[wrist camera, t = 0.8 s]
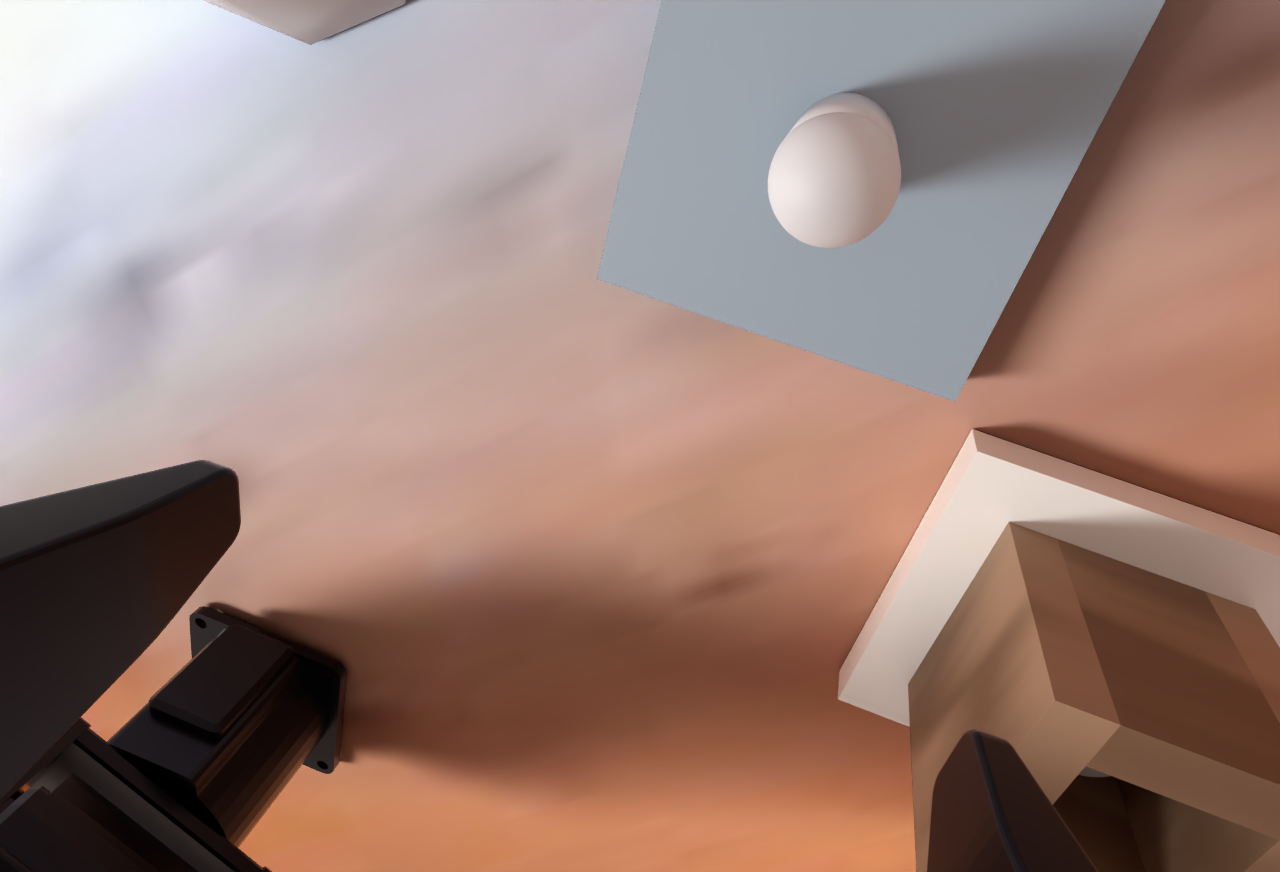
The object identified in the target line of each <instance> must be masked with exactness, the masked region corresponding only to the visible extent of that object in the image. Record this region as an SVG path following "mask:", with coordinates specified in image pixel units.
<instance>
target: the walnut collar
mask: <svg viewBox="0 0 1280 872" xmlns="http://www.w3.org/2000/svg"><path fill="white" fill-rule="evenodd" d="M908 698H909V720H910V742H911V764H912V786H913V808H914V830H915V852H916V872H927V860H928V847H929V833H930V820H931V806H932V794H933V788H934V784H935V781H936V778H937V775H938V773H939V772H940V770H941V768H942V767H943V765H944V764H945V762H946V760H947V759H948V757H949V756H950V754H951V752H952V751H953V749H954V748H955V746H956V744H957V743H958V741H959V740H960V738H961V737H962V735H963V734H964V733H965V732H966V731H967V730H970V729H977V730H980V731H983V732H986V733H989V734H992V735H994V736H997V737H1000V738H1003V739H1005V740H1006V741H1008V742H1009V743H1010V744H1011V745H1012V746H1013V748H1014V749H1015V751H1016V752H1017V753H1018V755H1019V756H1020V758H1021V759H1022V761H1023V762H1024V764H1025V765H1026V767H1027V768H1028V770H1029V771H1030V772H1031V774H1032V775H1033V777H1034V778H1035V780H1036V781H1037V783H1038V784H1039V786H1040V787H1041V789H1042V790H1043V791H1044V793H1045V794H1046V796H1047V797H1048V799H1049V800H1050V802H1051V803H1052V805H1053V806H1054V807H1055V809H1056V810H1057V812H1058V813H1059V815H1060V816H1061V818H1062V819H1063V821H1064V822H1065V824H1066V825H1067V826H1068V828H1069V829H1070V831H1071V832H1072V834H1073V835H1074V837H1075V838H1076V840H1077V841H1078V843H1079V844H1080V845H1081V847H1082V848H1083V850H1084V851H1085V853H1086V854H1087V856H1088V857H1089V859H1090V860H1091V861H1092V863H1093V864H1094V866H1095V867H1096V869H1097V870H1098V872H1280V647H1279V646H1278V644H1277V642H1276V641H1275V639H1274V638H1273V636H1272V635H1271V633H1270V631H1269V630H1268V628H1267V627H1266V625H1265V624H1264V622H1263V620H1262V619H1261V617H1260V616H1259V614H1258V613H1257V611H1256V609H1253V608H1251V607H1248V606H1245V605H1242V604H1239V603H1236V602H1234V601H1231V600H1228V599H1225V598H1222V597H1220V596H1217V595H1214V594H1211V593H1208V592H1206V591H1203V590H1200V589H1197V588H1194V587H1191V586H1189V585H1186V584H1183V583H1180V582H1177V581H1175V580H1172V579H1169V578H1166V577H1163V576H1160V575H1158V574H1155V573H1152V572H1149V571H1146V570H1144V569H1141V568H1138V567H1135V566H1132V565H1130V564H1127V563H1124V562H1121V561H1118V560H1115V559H1113V558H1110V557H1107V556H1104V555H1101V554H1099V553H1096V552H1093V551H1090V550H1087V549H1084V548H1082V547H1079V546H1076V545H1073V544H1070V543H1068V542H1065V541H1062V540H1059V539H1056V538H1053V537H1051V536H1048V535H1045V534H1042V533H1039V532H1037V531H1034V530H1031V529H1028V528H1025V527H1023V526H1020V525H1017V524H1014V523H1011V522H1008V524H1007V525H1006V527H1005V529H1004V530H1003V532H1002V533H1001V535H1000V537H999V538H998V540H997V541H996V543H995V545H994V546H993V548H992V550H991V551H990V553H989V554H988V556H987V558H986V559H985V561H984V562H983V564H982V566H981V567H980V569H979V570H978V572H977V574H976V575H975V577H974V579H973V580H972V582H971V583H970V585H969V587H968V588H967V590H966V591H965V593H964V595H963V596H962V598H961V599H960V601H959V603H958V604H957V606H956V608H955V609H954V611H953V612H952V614H951V616H950V617H949V619H948V620H947V622H946V624H945V625H944V627H943V628H942V630H941V632H940V633H939V635H938V636H937V638H936V640H935V641H934V643H933V645H932V646H931V648H930V649H929V651H928V653H927V654H926V656H925V657H924V659H923V661H922V662H921V664H920V665H919V667H918V669H917V670H916V672H915V674H914V675H913V677H912V678H911V680H910V682H909V683H908ZM1085 766H1087V767H1090V768H1092V769H1095V770H1097V771H1100V772H1103V773H1105V774H1108V775H1110V776H1109V777H1088V776H1082V775H1079V773H1080V772H1081V771H1082V770H1083V769H1084V768H1085Z"/></svg>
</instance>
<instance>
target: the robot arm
mask: <svg viewBox="0 0 1280 872" xmlns="http://www.w3.org/2000/svg"><path fill="white" fill-rule="evenodd" d="M240 524H241V515H240V498H239V481H238V477H237V475H236V473H235V471H233V470H232V469H230V468H227V467H225V466H222V465H219V464H216V463H213V462H210V461H206V460H199V461H194V462H190V463H185V464H181V465H177V466H172V467H168V468H164V469H159V470H155V471H151V472H146V473H142V474H138V475H134V476H129V477H125V478H121V479H116V480H112V481H108V482H103V483H99V484H95V485H90V486H86V487H82V488H78V489H73V490H69V491H65V492H60V493H56V494H52V495H47V496H43V497H39V498H34V499H30V500H26V501H22V502H17V503H13V504H9V505H4V506H0V872H272V871H271V870H269V869H268V868H267V867H266V866H265V867H263V868H262V867H261V866H259V865H258V864H257V863H256V862H255V861H253V860H252V859H251V858H250V857H248V856H247V855H246V854H245V853H243V852H242V851H241V850H240V849H238V847H239V846H240V845H241V843H242V842H243V841H244V839H245V838H246V837H247V836H248V834H249V833H250V832H251V830H252V829H253V828H254V826H255V825H256V824H257V822H258V821H259V820H260V819H261V817H262V816H263V815H264V813H265V812H266V811H267V809H268V808H269V807H270V806H271V804H272V803H273V802H274V800H275V799H276V798H277V796H278V795H279V794H280V793H281V791H282V790H283V789H284V787H285V786H286V785H287V783H288V782H289V781H290V779H291V778H292V777H293V776H294V774H295V773H296V772H297V770H298V769H299V768H300V766H301V765H302V764H303V765H306V766H308V767H310V768H313V769H315V770H317V771H320V772H322V773H326V774H330V773H332V772H333V771H334V769H335V768H336V766H337V765H338V763H339V756H340V745H341V733H342V721H343V709H344V697H345V686H346V674H347V673H346V669H345V667H344V665H343V664H342V663H341V662H339V661H337V660H336V659H333V658H331V657H328V656H326V655H323V654H321V653H319V652H316V651H314V650H311V649H309V648H306V647H304V646H301V645H299V644H296V643H294V642H292V641H289V640H287V639H284V638H282V637H279V636H277V635H274V634H272V633H269V632H267V631H265V630H262V629H260V628H257V627H255V626H252V625H250V624H247V623H245V622H242V621H240V620H238V619H235V618H233V617H230V616H228V615H225V614H223V613H220V612H218V611H215V610H213V609H211V608H208V607H204V606H203V607H199V608H198V609H197V610H196V611H195V612H194V613H192V614H191V615H190V635H191V651H192V659H191V660H190V661H189V662H188V663H187V664H186V665H185V666H184V667H183V668H182V669H181V670H180V671H179V672H178V673H177V674H175V675H174V676H173V677H172V678H171V679H170V680H169V681H168V682H167V683H166V684H165V685H164V686H163V687H162V688H161V689H160V690H158V691H157V692H156V693H155V694H154V695H153V696H152V697H151V698H150V700H149V702H148V703H147V704H146V705H145V706H144V707H143V708H142V709H141V710H140V711H139V712H138V713H137V714H136V715H135V716H134V717H132V718H131V719H130V720H129V721H128V722H127V723H126V724H125V725H124V726H123V727H122V728H121V729H120V730H119V731H118V732H117V733H116V734H114V735H113V736H112V737H111V738H110V739H109V740H108V741H107V742H106V741H105V740H103V739H102V738H101V737H100V736H98V735H97V734H96V733H95V732H94V731H92V730H91V729H90V727H91V725H90V724H89V723H88V722H86V721H85V720H84V719H83V718H81V716H82V715H83V714H84V713H85V712H86V711H87V710H88V709H89V708H90V707H91V706H92V705H93V704H94V703H95V702H96V701H97V700H98V699H99V697H100V696H101V695H102V694H103V693H104V692H105V691H106V690H107V689H108V688H109V687H110V686H111V685H112V684H113V683H114V682H115V681H116V680H117V679H118V678H119V677H120V676H121V675H122V674H123V673H124V672H125V671H126V670H127V669H128V668H129V667H130V666H131V665H132V664H133V662H134V661H135V660H136V659H137V658H138V657H139V656H140V655H141V654H142V653H143V652H144V651H145V650H146V649H147V648H148V647H149V646H150V644H151V643H152V642H153V641H154V640H155V639H156V638H157V637H158V636H159V634H160V633H161V632H162V631H163V630H164V629H165V627H166V626H167V625H168V624H169V623H170V621H171V620H172V619H173V618H174V616H175V615H176V614H177V613H178V611H179V610H180V609H181V608H182V606H183V605H184V604H185V603H186V601H187V600H188V599H189V598H190V596H191V595H192V594H193V592H194V591H195V590H196V589H197V587H198V586H199V585H200V584H201V582H202V581H203V580H204V579H205V577H206V576H207V575H208V574H209V572H210V571H211V570H212V569H213V567H214V566H215V565H216V564H217V562H218V561H219V560H220V558H221V557H222V556H223V555H224V553H225V552H226V551H227V550H228V548H229V547H230V546H231V545H232V543H233V542H234V540H235V539H236V537H237V535H238V532H239V529H240ZM927 872H1098V870H1097V869H1096V867H1095V866H1094V864H1093V863H1092V861H1091V860H1090V859H1089V857H1088V856H1087V854H1086V853H1085V851H1084V850H1083V848H1082V847H1081V845H1080V844H1079V843H1078V841H1077V840H1076V838H1075V837H1074V835H1073V834H1072V832H1071V831H1070V829H1069V828H1068V826H1067V825H1066V824H1065V822H1064V821H1063V819H1062V818H1061V816H1060V815H1059V813H1058V812H1057V810H1056V809H1055V807H1054V806H1053V805H1052V803H1051V802H1050V800H1049V799H1048V797H1047V796H1046V794H1045V793H1044V791H1043V790H1042V789H1041V787H1040V786H1039V784H1038V783H1037V781H1036V780H1035V778H1034V777H1033V775H1032V774H1031V772H1030V771H1029V770H1028V768H1027V767H1026V765H1025V764H1024V762H1023V761H1022V759H1021V758H1020V756H1019V755H1018V753H1017V752H1016V751H1015V749H1014V748H1013V746H1012V745H1011V744H1010V743H1009V742H1008V741H1006V740H1005V739H1003V738H1000V737H997V736H994V735H992V734H989V733H986V732H983V731H980V730H977V729H970V730H967V731H966V732H965V733H964V734H963V735H962V737H961V738H960V740H959V741H958V743H957V744H956V746H955V748H954V749H953V751H952V752H951V754H950V756H949V757H948V759H947V760H946V762H945V764H944V765H943V767H942V768H941V770H940V772H939V773H938V775H937V778H936V781H935V784H934V788H933V794H932V806H931V820H930V833H929V847H928V860H927Z"/></svg>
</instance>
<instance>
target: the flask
mask: <svg viewBox="0 0 1280 872" xmlns="http://www.w3.org/2000/svg"><path fill="white" fill-rule="evenodd" d="M205 1H207V2H209V3H211V4H213V5H216V6H218V7H221V8H223V9H226V10H228V11H230V12H233V13H235V14H238V15H240V16H242V17H245V18H247V19H250V20H252V21H254V22H257V23H259V24H262V25H264V26H266V27H269V28H271V29H274V30H276V31H278V32H281V33H283V34H286V35H288V36H291V37H293V38H295V39H298V40H300V41H303V42H305V43H307V44H310V45H311V44H314V43H316V42H318V41H321V40H323V39H325V38H328V37H330V36H332V35H335V34H337V33H339V32H341V31H344V30H346V29H348V28H351V27H353V26H355V25H358V24H360V23H362V22H365V21H367V20H369V19H372V18H374V17H376V16H378V15H381V14H383V13H385V12H388V11H390V10H392V9H395V8H397V7H399V6H402V5H404V4H405V0H205Z"/></svg>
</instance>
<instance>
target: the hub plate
mask: <svg viewBox="0 0 1280 872" xmlns="http://www.w3.org/2000/svg"><path fill="white" fill-rule="evenodd" d="M1165 1H1166V0H662V2H661V6H660V10H659V15H658V19H657V23H656V27H655V32H654V36H653V40H652V45H651V49H650V53H649V57H648V62H647V66H646V70H645V74H644V79H643V83H642V87H641V92H640V96H639V100H638V104H637V109H636V113H635V117H634V122H633V126H632V130H631V134H630V139H629V143H628V147H627V151H626V156H625V160H624V164H623V169H622V173H621V177H620V181H619V186H618V190H617V194H616V198H615V203H614V207H613V211H612V216H611V220H610V224H609V228H608V233H607V237H606V241H605V246H604V250H603V254H602V258H601V263H600V267H599V271H598V275H597V279H598V280H601V281H604V282H606V283H609V284H612V285H615V286H618V287H621V288H624V289H627V290H630V291H633V292H636V293H639V294H642V295H644V296H647V297H650V298H653V299H656V300H659V301H662V302H665V303H668V304H671V305H674V306H677V307H680V308H682V309H685V310H688V311H691V312H694V313H697V314H700V315H703V316H706V317H709V318H712V319H715V320H717V321H720V322H723V323H726V324H729V325H732V326H735V327H738V328H741V329H744V330H747V331H750V332H753V333H755V334H758V335H761V336H764V337H767V338H770V339H773V340H776V341H779V342H782V343H785V344H788V345H791V346H793V347H796V348H799V349H802V350H805V351H808V352H811V353H814V354H817V355H820V356H823V357H826V358H829V359H831V360H834V361H837V362H840V363H843V364H846V365H849V366H852V367H855V368H858V369H861V370H864V371H866V372H869V373H872V374H875V375H878V376H881V377H884V378H887V379H890V380H893V381H896V382H899V383H902V384H904V385H907V386H910V387H913V388H916V389H919V390H922V391H925V392H928V393H931V394H934V395H937V396H940V397H942V398H945V399H948V400H951V401H954V402H955V401H956V399H957V397H958V395H959V393H960V391H961V389H962V388H963V386H964V384H965V382H966V380H967V378H968V376H969V374H970V372H971V370H972V368H973V367H974V365H975V363H976V361H977V359H978V357H979V355H980V353H981V351H982V349H983V348H984V346H985V344H986V342H987V340H988V338H989V336H990V334H991V332H992V330H993V328H994V327H995V325H996V323H997V321H998V319H999V317H1000V315H1001V313H1002V311H1003V309H1004V307H1005V306H1006V304H1007V302H1008V300H1009V298H1010V296H1011V294H1012V292H1013V290H1014V288H1015V287H1016V285H1017V283H1018V281H1019V279H1020V277H1021V275H1022V273H1023V271H1024V269H1025V267H1026V266H1027V264H1028V262H1029V260H1030V258H1031V256H1032V254H1033V252H1034V250H1035V248H1036V246H1037V245H1038V243H1039V241H1040V239H1041V237H1042V235H1043V233H1044V231H1045V229H1046V227H1047V226H1048V224H1049V222H1050V220H1051V218H1052V216H1053V214H1054V212H1055V210H1056V208H1057V206H1058V205H1059V203H1060V201H1061V199H1062V197H1063V195H1064V193H1065V191H1066V189H1067V187H1068V185H1069V184H1070V182H1071V180H1072V178H1073V176H1074V174H1075V172H1076V170H1077V168H1078V166H1079V165H1080V163H1081V161H1082V159H1083V157H1084V155H1085V153H1086V151H1087V149H1088V147H1089V145H1090V144H1091V142H1092V140H1093V138H1094V136H1095V134H1096V132H1097V130H1098V128H1099V126H1100V124H1101V123H1102V121H1103V119H1104V117H1105V115H1106V113H1107V111H1108V109H1109V107H1110V105H1111V104H1112V102H1113V100H1114V98H1115V96H1116V94H1117V92H1118V90H1119V88H1120V86H1121V84H1122V83H1123V81H1124V79H1125V77H1126V75H1127V73H1128V71H1129V69H1130V67H1131V65H1132V64H1133V62H1134V60H1135V58H1136V56H1137V54H1138V52H1139V50H1140V48H1141V46H1142V44H1143V43H1144V41H1145V39H1146V37H1147V35H1148V33H1149V31H1150V29H1151V27H1152V25H1153V23H1154V22H1155V20H1156V18H1157V16H1158V14H1159V12H1160V10H1161V8H1162V6H1163V4H1164V3H1165Z"/></svg>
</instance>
